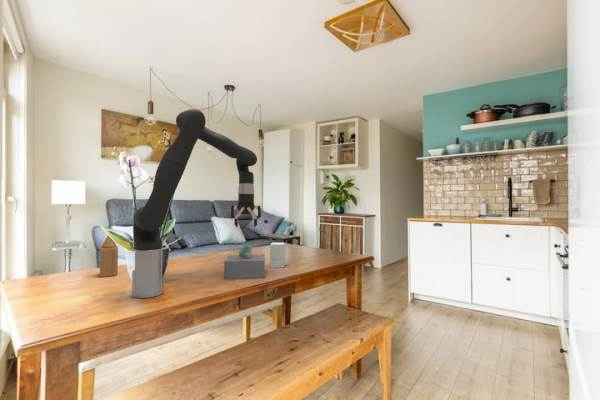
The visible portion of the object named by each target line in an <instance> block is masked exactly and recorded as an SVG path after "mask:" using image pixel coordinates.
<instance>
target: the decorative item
mask: <svg viewBox="0 0 600 400" xmlns="http://www.w3.org/2000/svg"><path fill="white" fill-rule="evenodd" d="M113 240H114V239H113ZM113 240H112V239H111V238H110V237H109V236H108V235H107V236H106V238H105V239H104V242H103V243H102V245H101V248H100V249H99V277H100V278H106V277H107V278H108V276H109V277H116V276H117V275H118V273H119V272H118V269H119V268H118V267H119V264H118V262H119V261H118V260H119V258H118V257H119V254H118V253H119V248H118V247H119V246H118V245H117V243H116V242H115V241H113Z"/></svg>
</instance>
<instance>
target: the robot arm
mask: <svg viewBox="0 0 600 400" xmlns="http://www.w3.org/2000/svg"><path fill="white" fill-rule="evenodd" d="M175 123H176V126H177V128H178V129H179V132H178V134H177V137H176V138H175V140H174V141H173V142H172V143H171V145H170V146H169V147H168V148H167V150H165V152H164V154H163V155H162V157H161V160H160V161H159V164H158V166H157V168H156V171H155V174H154V180H153V181H154V182H153V186H152V190H151V193H150V195H149V197H148V199H147V201H146V203H145V204H144V205H143V206H141V207H139V208H138V209H137V210H136V211H135V213H134V214H133V218H132V223H133V225H132V228H133V236H132V237H133V243H134V270H132V275H131V277H132V278H131V280H132V282H131V283H132V284H131V285H132V286H131V288H132V289H131V297H132V298H138V299H146V298H147V299H149V298H153V297H157V296H158V297H159V296H160V295H161V294H162V293H163V240H162V238H161V233H160V231H161V229H160V228H162V226H163V224H164V223H165V220H166V217H167V214H168V210H169V208H170V207H169V206H170V204H171V202H172V201H171V200H172V198H173V196H174V194H175V193H176V191H177V188H178V186H179V184H180V181H181V179H182V177H183V175H184V173H185V169H186V167H187V165H188V162H189V160H190V158H191V155H192V152H193V150H194V147H195V145H196V143H197V142H198V140H199V141H202V142H204V143H206V144H208V145H210V146H211V147H213V148H214V149H216V150H218V151H219V152H220V153H222V154H225V155H226V156H227V157H229V158H231V159H235V160H236V161H235V164H236V169H237V172H238V189H237V197H238V199H237V202H238V203H237V205H234V204H232V205H231V207H230V218H232V219H234V226H235V228H238V227H239V217H240V216H241V215H250V214H251V216H252V217H253V228H256V226H257V225H258V219H260V218H261V217H262V213H261V205H259V204H258V205H255V185H254V184H255V179H254V177H255V176H254V172H251V171H250V170H249V169H250V168H249V167H253V166H255V165H256V164H257V162H258V156H257V155H256V153H255V152H254V151H252V150H250V149H249V148H247V147H244V146H241V145H239V144H238V143H236V142H235V141H234V140H232V139H231V138H229V137H227V136H225V135H223V134H222V133H218V132H216V131H214V130H212V129H209V128H208V127H206V123H207V121H206V116H205V114H204V112H203V111H201V110H200V109H197V108H192V109H191V108H190V109H187V110H184V111H182V112H179V113H178V114H177V116H176V118H175ZM237 209H238V212H237V214H236V215H235V211H236V210H237ZM254 210H257V215H256V214H255V212H254Z"/></svg>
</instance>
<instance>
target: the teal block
mask: <svg viewBox="0 0 600 400" xmlns="http://www.w3.org/2000/svg"><path fill="white" fill-rule="evenodd" d="M238 247H239V248H238V255H239V259H251V255H252V245H251V244H250V245H245V244H244V245H239V246H238Z"/></svg>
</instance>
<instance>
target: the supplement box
mask: <svg viewBox="0 0 600 400" xmlns="http://www.w3.org/2000/svg"><path fill="white" fill-rule="evenodd" d="M285 266H286V242H271V243H270V244H269V267H270V268H275V269H277V268H279V269H281V268H282V269H283V268H285Z"/></svg>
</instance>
